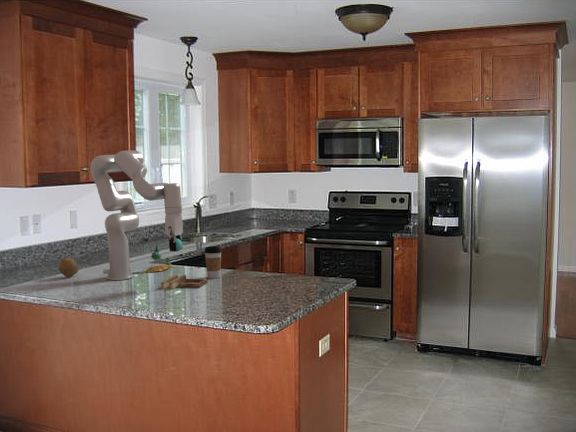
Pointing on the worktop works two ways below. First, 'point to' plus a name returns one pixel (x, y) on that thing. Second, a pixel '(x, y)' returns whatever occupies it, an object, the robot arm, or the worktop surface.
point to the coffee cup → (213, 261)
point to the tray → (193, 283)
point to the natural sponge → (68, 267)
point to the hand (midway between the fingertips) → (176, 249)
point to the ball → (178, 244)
